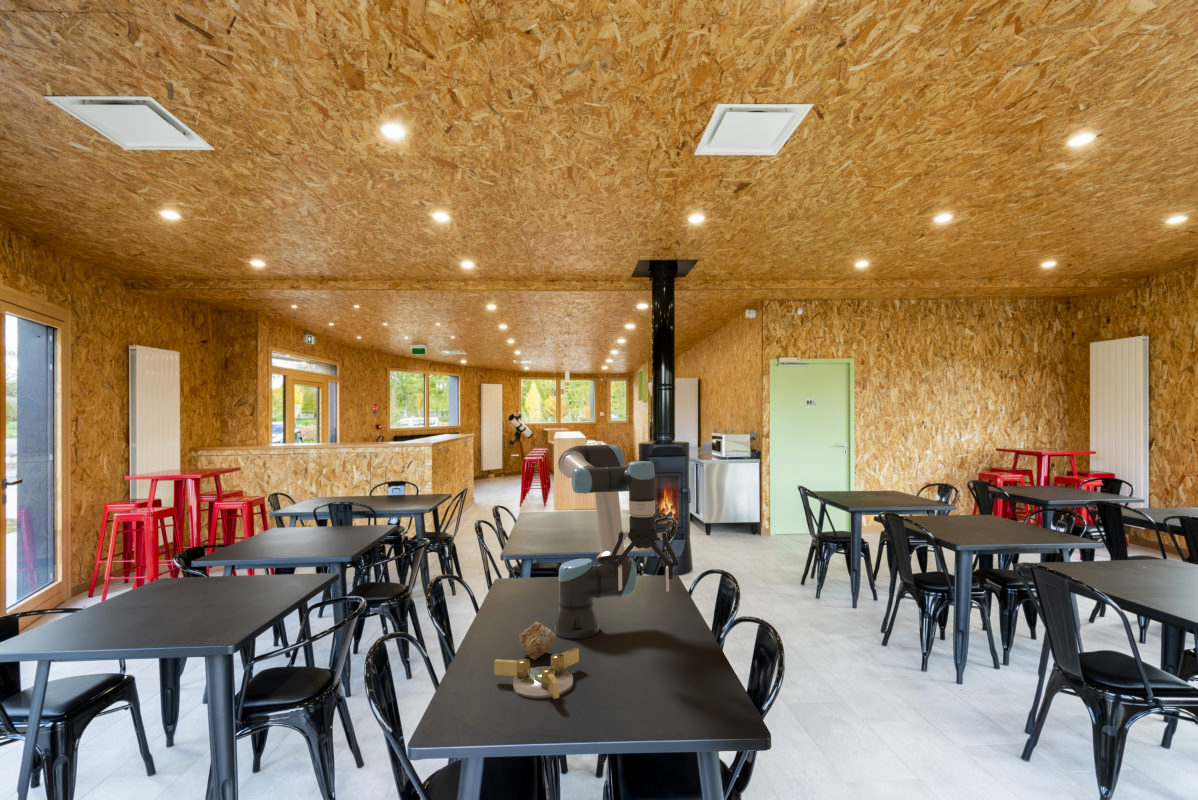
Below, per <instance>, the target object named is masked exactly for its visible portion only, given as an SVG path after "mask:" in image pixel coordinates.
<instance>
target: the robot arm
mask: <svg viewBox="0 0 1198 800" xmlns="http://www.w3.org/2000/svg"><path fill="white" fill-rule="evenodd" d="M559 456H560V457H559V458H558V461H557V462H558V469H559V471H560V472H561V474H563V476H564V477H567V478H570V479H571V488H572V491H573V492H574V493H575V494H593V493H594V495H595V506H596V517H597V518H596V519H597V520H596V521H597V529H598V530H597V531H598V541H599V554H597V556H596V562H594V561H593V560H592V559H591V558H587V557H586V558H576V559H571V560H568V561H565V562H564V563H562V564H561V565H560V566H559V569H558V577H557V579H558V601H559V602H558V603H559V604H558V605H559V606H558V611H557V615H556V620H555V622H554V624H553V625H554V627H553V628H554V630H553V633H554V634H555V635H556V636H558V637H560V638H564V639H574V640H575V639H584V638H585V639H586V638H589V637H593V636H594V635H597V634H598V633H599V632H600V625H599V621H598V620H597V616H596V615H597V614H596V611H595V608H594V600H595V599H605V598H606V599H607V598H615V597H618V598H620V597H625V596H630V595H632V594H634V593H633V592H634V591H635V589H636V585H637V577H638V576H637V575H638V573H637V572H638V571H637V566H636V564H637V563H636V561H634V560H633V559H631V557H630V553H631V551H632V550H633V549H634V548H637V549H649V548H651V549H652V550H653V551H654V552H655V553H656V554H657V555H658V556H659V558H660V559H661V560H662V561H663V562H664V564H665V565H666V566H665V590H666V591H665V592H670V580H673V577H674V569H673V568H674V567H678V566H679V565H680V561H679V559H678V557H677V555H676V552H675V551H674V549H673V547H672V546H671V543H670V542H669V539H668V533H667V531H663V532H657V528H656V525H657V524H656V516H655V514H656V493H655V492H656V490H655V489H656V487H655V485H656V482H655V481H656V478H655V476H656V472H655V465H654V462H653V461H646V460H644V461H642V460H640V461H639V460H638V461H630V462H629V463H628V465H626V462H625V458H624V453H623V451H622V449H621V447H619V446H618V445H616V444H594V445H593V444H592V445H590V444H589V445H587V444H586V445H582V444H581V445H576V446H572V447H570V448H568V449H566V450H565V451H563V452H562V453H561V455H559ZM619 492H628V501H629V502H628V507H629V509H628V512H629V515H630V516H629V521H628V522H629V532H624V531H623V525H622V523H623V521H622V516H621V515H622V513H621V506H620V505H621V503H620V495H619V494H620V493H619ZM627 538H628V539H629V540H630V544H628V546H627V547H626V548H625V542H624V541H625V540H626V539H627ZM658 538H659V540H660V541H662V542H663V545H664V547H665V549H666V550H667V552H668V554H669V557H670V558H669V557H668V556H667V555H666V553H665V552H664V551H663V550H662V549H661V548H660V547H659V545H658V544H657V542H656V540H657V539H658ZM670 559H671V560H670Z"/></svg>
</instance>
